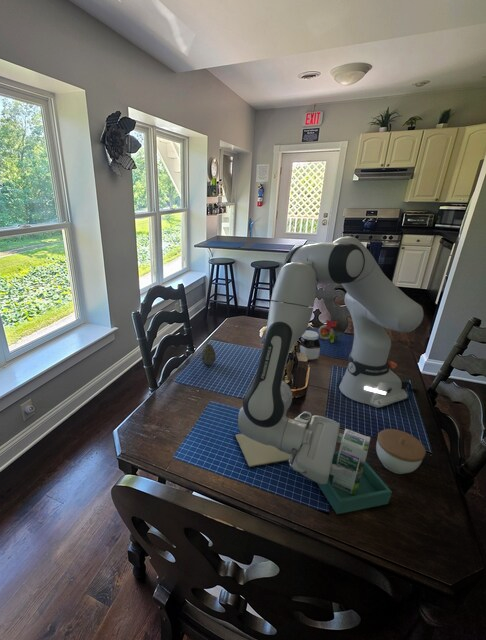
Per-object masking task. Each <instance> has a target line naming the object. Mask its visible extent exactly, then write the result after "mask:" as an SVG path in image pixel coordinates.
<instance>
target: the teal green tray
mask: <svg viewBox="0 0 486 640" xmlns="http://www.w3.org/2000/svg"><path fill="white" fill-rule="evenodd" d="M338 454H339V450H338V451H334V456H333V460H332V464H335V465H336V463H337V459H338ZM333 477H334V476H333V475H331V474H329V478H328V482H327V484H319V483H317V482H315V483H316V484H317V486H318V487H319V488H320V491H321V492H322V494H323V495H324V497H325V499H327V501H328V503H329V504H330V506H331V507H332V509H333V511H334V512H335V514H336V515H340V514H345V513H350V512H355V511H360V510H364V509H370V508H374V507H379V506H385V505H388V504H389V503H390V500H391V497H392V494H393V491H392V490H391V488H389V486H388V485H387V484H386V483H385V482H384V481H383V479H381V477H380V476H379V475H378V474H377V472H375V470H374V469H373V468H372V467H371V466H370V464H368V462H367V461H366V460H365V464H364V467H363V471H362V475H361V479H360V482H359V486H358V490H357V494H356V496H354V495H352V494H350V493H348V492H345V491H343V490H341V489H339V488H337V487H335V486H332V481H333Z"/></svg>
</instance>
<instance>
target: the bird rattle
mask: <svg viewBox="0 0 486 640" xmlns="http://www.w3.org/2000/svg"><path fill="white" fill-rule="evenodd" d="M337 325H338V321H333V320H329V319H326V324H322V325H321V326H319V328H318V334H319V337H320V340H329V341H330V344H333V343H335V340H337V339H338V338H339V337H340V334H338V333H337V334H336V333H335V328H337Z"/></svg>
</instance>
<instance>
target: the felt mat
mask: <svg viewBox="0 0 486 640" xmlns="http://www.w3.org/2000/svg"><path fill="white" fill-rule="evenodd" d="M235 438H236V441H237V443H238V445H239V447H240V450H241V452H242V454H243V456H244V459H245V461H246V463H247V465H248V467H249V468H252V467H256V466H264V465H269V464H275V463H276V464H277V463H282V462H289V458H290V457H291V455H290V454H288V453H285V452H282V451H280V450H278V449H277V448H276V447H274V446H270V445H264V444H262V443H259V442H257V441H255V440H253V439H250V438H249V437H247V436H245V435H244V434H242V433H236V434H235ZM294 459H295V458H294Z"/></svg>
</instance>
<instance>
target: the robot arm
mask: <svg viewBox="0 0 486 640" xmlns="http://www.w3.org/2000/svg"><path fill="white" fill-rule="evenodd" d="M319 284H338V285H341V286H342V287H343V289H344V290H345V291H346V293H345V295H344V305H345V307H346V308H347V310H348V313H349V314H350V316H351V320H352V325H353V341H352V348H351V352H350V353H349V356H348V360H347V367H346V370H345V373H344V375H343V376H342V380H341V381H340V383H339V385H338V389H339V391H340V392H341V394H343V395H344V396H345V397H347V398H348V399H351V400H352V401H354V402H357V403H361V404H366V405H369V406H371V407H374V408H376V409H380V408H383V407H386V406H389V405H392V404H394V403H398V402H401V401H404V400H407V399H408V394H407V392H406V390H407V388H408V390H409V391H410V392H415V391H416V392H417V390H418V389H417V388H413V386H412V385H413V384H412V383H410V382H409V381H408V380H407V379H406V378H404V376H402V374H396V373H394V371H393V370H394V369H396V368H397V366H398V364H397V363H396V362H394V361H392V360H389V359H388V358H389V354H390V350H391V347H392V340H391V337H390V336H389V334H388V332H387V331H386V330H389V331H393V332H397V333H403V334H407V333H410V332H411V333H412V332H413V331H414V330H416V329H418V327H419V326H420V325H421V324H422V322H423V319H424V308H423V306H422V305H420V304H419V303H418V302H416V301H415V300H413V298H410V297H409V296H408V295H407V294H405V292H404V291H402V289H400V288H399V287H398V286H397V285H396V284H395V283H394V282H393V281H392V280H390V279H389V278H388V277H387V276H386V274H385V273H384V271H383V270H382V268H381V267H380V265H379V264H378V263H377V261H376V259H375V257H374V256H373V254H372V253H371V251H370V250H369V249H368V248H367V247H366V246H365V244H363V243H362V241H360V240H359V239H358V238H356V237H354V236H351V235H350V236H349V235H348V236H347V235H345V236H342V237H339V238H337V239H335V240H334V241H331V242H330V241H329V242H328V241H327V242H326V241H325V242H318V243H311V244H301V245H297V246H295V247H293V248H291V249H290V250H289V251H288V253H287V254H286V257H285V258H284V263H283V266H281V268H280V270H279V272H278V275H277V278H276V280H275V283H274V285H273V289H272V293H271V298H270V301H269V309H268V316H267V323H266V330H265V339H264V342H263V346H262V350H261V353H260V358H259V362H258V366H257V369H256V370H257V371H256V374H255V377H254V380H253V383H252V385H251V386H250V388H249V389H248V390H247V391H246V393H245V394H244V396H243V399H242V406H241V407H240V409H239V410H238V415H237V427H238V430H239V432H240V434H244V435H245V436H247V437H249V438H250V439H253V440H255V441H257V442H259V443H262V444H264V445H270V446H274V447H276V448H277V449H278V450H280V451H282V452H285V453H288V454H290V455H291V457H290V458H289V460H288V464H289V467H290V468H291V470H292V471H295V472H297V473H299V474H300V475H302V476H304V477H306V479H308V480H310V481H312V482H314V483H316V482H317V483H319V484H327V482H328V478H329V474H331V475H333V476H343V475H344V476H347V477H349V478H352V475H353V468H351V467H349V466H346V465H345V468H343V467H337V465H335V464H332V460H333V456H334V452H336V446H337V443H338V444H341V441H342V438H343V435H344V433H342V432H340V428H341V424H340V423H339V422H338V421H336V420H334V419H331V418H328V417H325V416H322V415H318V414H317V415H316V414H315V415H312V413H311V412H309V411H302V413H300V414H299V415H298V416H296V417H295V418H294V419H292V418H289V417H288V416H287V413H288V410H289V408H290V407H291V405H292V403H293V391H292V388H291V387H290V385H289V384H288V383H287V382H286V381H284V380H283V378H284V376H285V371H286V366H287V362H288V360H289V359H288V358H289V356H290V355H289V353H290V351H291V349H292V347H293V346H294V344H295V343H296V342H297V341H298V340H299V338H300V337H301V336H302V335H303V334H304V333H305V331H306V330H307V329H308V327H309V325H310V321H311V320H312V316H313V312H314V307H315V301H316V294H317V293H316V292H317V287H318V285H319ZM389 367H390V368H391V369H393V370H391V369H390V368H389ZM294 458H295V459H294ZM317 483H316V484H317Z"/></svg>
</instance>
